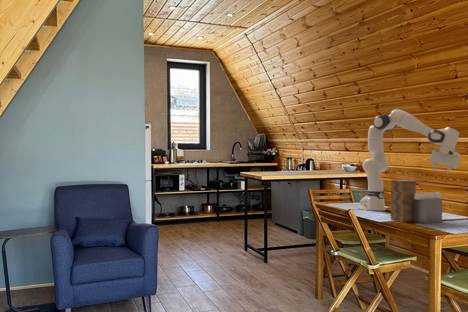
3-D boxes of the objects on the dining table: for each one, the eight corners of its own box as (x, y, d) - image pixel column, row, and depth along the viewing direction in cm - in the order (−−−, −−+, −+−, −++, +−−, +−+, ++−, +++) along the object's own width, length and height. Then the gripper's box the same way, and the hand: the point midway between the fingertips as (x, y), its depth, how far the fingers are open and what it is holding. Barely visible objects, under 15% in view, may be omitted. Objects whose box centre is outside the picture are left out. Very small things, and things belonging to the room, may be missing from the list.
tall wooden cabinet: (389, 219, 288) (390, 180, 288) (403, 218, 293) (403, 179, 293) (402, 222, 278) (403, 181, 278) (416, 220, 284) (416, 180, 283)
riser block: (413, 221, 281) (413, 198, 281) (428, 219, 287) (429, 196, 287) (426, 224, 272) (426, 199, 271) (441, 222, 278) (442, 198, 277)
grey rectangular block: (414, 198, 276) (414, 193, 276) (436, 197, 285) (436, 191, 285) (418, 199, 273) (418, 193, 273) (441, 197, 282) (441, 192, 282)
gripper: (430, 147, 299) (424, 167, 301) (456, 153, 281) (450, 174, 283) (436, 149, 302) (430, 168, 304) (462, 155, 284) (456, 175, 286)
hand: (440, 171), depth 293 cm, fingers open, 8 cm apart
